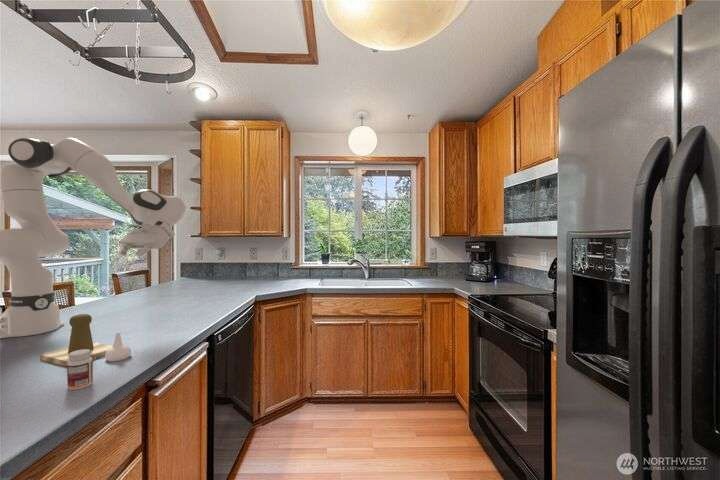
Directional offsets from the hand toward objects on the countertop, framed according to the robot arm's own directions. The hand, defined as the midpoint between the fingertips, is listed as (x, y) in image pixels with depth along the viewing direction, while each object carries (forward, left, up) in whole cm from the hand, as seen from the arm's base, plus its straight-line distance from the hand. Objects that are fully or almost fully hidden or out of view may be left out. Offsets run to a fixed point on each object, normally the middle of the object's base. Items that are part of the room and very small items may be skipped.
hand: (129, 255), depth 120 cm
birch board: (+7, -19, -29) cm, 36 cm away
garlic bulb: (+20, -16, -30) cm, 39 cm away
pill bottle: (+30, -31, -30) cm, 53 cm away
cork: (+7, -19, -28) cm, 35 cm away
